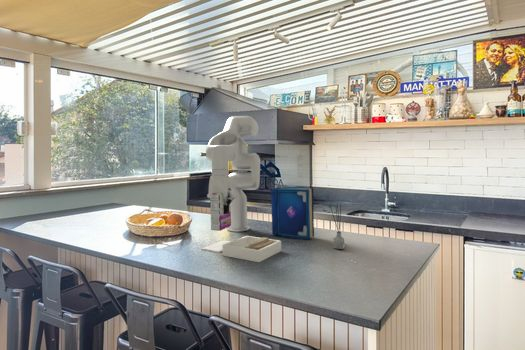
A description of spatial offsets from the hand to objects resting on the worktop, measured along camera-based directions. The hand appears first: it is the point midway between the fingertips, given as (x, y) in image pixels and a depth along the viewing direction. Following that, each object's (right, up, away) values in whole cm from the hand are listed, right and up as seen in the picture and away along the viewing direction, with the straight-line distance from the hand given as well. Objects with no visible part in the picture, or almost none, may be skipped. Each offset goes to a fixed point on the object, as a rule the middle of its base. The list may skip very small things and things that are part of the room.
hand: (220, 212), depth 161 cm
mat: (0, -16, +1) cm, 16 cm away
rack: (+15, -16, -9) cm, 24 cm away
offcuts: (+18, -17, -11) cm, 27 cm away
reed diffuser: (+52, -16, -2) cm, 54 cm away
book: (+34, -14, +19) cm, 41 cm away
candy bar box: (0, -7, 0) cm, 7 cm away
